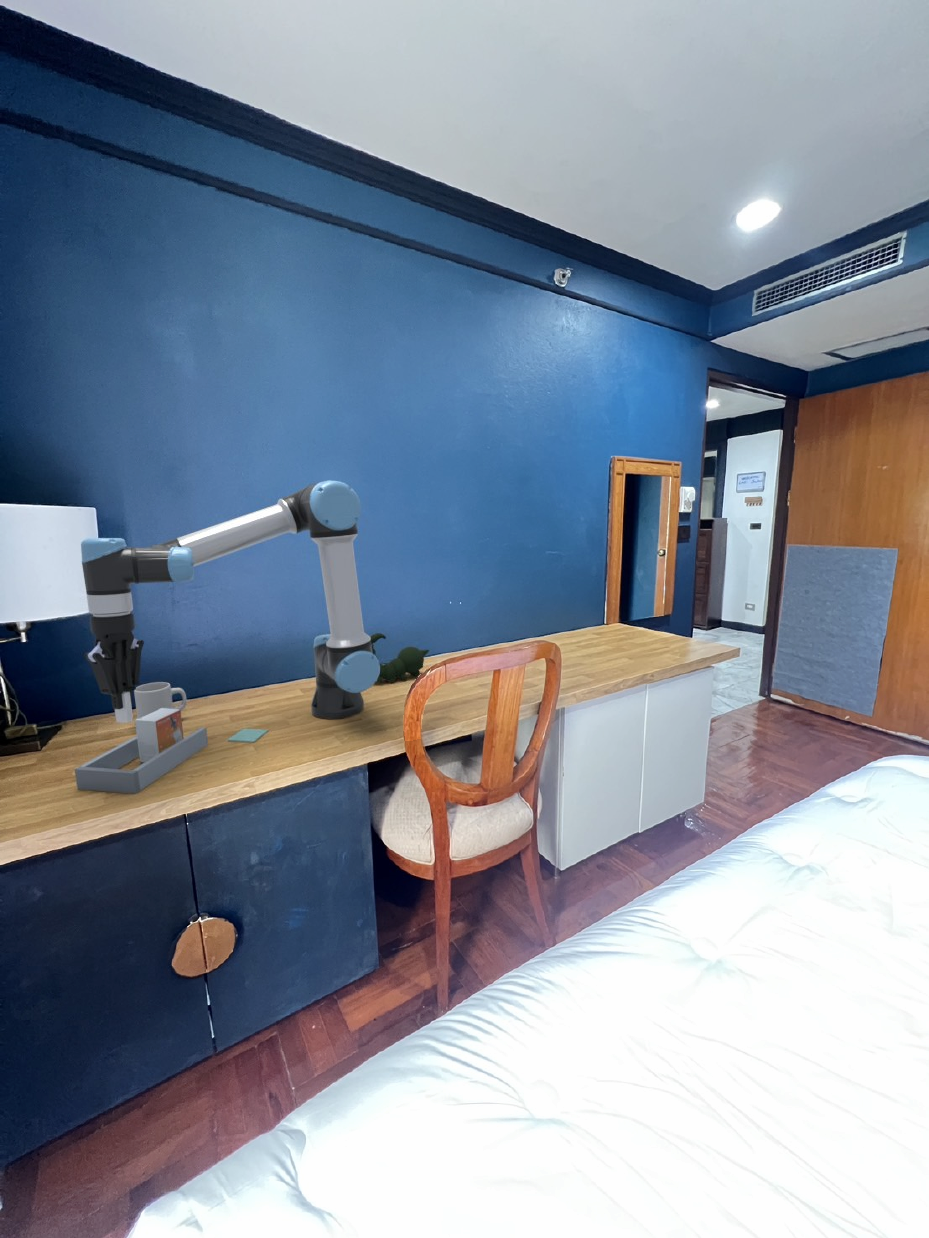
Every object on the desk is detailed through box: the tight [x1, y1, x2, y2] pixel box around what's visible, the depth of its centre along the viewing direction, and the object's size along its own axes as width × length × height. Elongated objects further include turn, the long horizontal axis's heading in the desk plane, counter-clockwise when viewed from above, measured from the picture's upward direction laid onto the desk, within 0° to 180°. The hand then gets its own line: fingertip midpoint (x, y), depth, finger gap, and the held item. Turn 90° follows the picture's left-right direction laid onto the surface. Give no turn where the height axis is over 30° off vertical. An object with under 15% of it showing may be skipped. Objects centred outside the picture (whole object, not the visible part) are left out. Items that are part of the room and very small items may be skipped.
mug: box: [133, 681, 187, 719], centre depth 136 cm, size 12×8×11 cm
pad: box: [227, 728, 269, 744], centre depth 129 cm, size 7×7×1 cm
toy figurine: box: [370, 632, 430, 684], centre depth 175 cm, size 9×19×25 cm
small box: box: [134, 708, 185, 763], centre depth 117 cm, size 8×6×10 cm
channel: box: [74, 727, 209, 795], centre depth 113 cm, size 13×23×4 cm, turn 172°
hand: (124, 721), depth 107 cm, fingers closed
